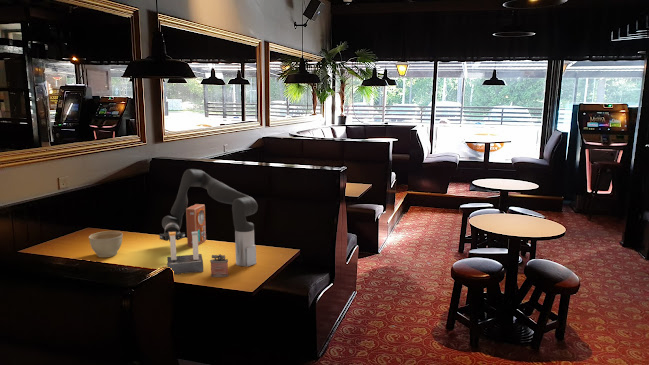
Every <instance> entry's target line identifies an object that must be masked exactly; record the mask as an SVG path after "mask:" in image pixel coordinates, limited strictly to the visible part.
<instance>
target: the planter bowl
mask: <svg viewBox="0 0 649 365" xmlns="http://www.w3.org/2000/svg"><path fill="white" fill-rule="evenodd" d="M123 234H124V233H123V232H121V231H116V230H115V231H114V230H109V231H108V230H107V231H100V232H96V233H95V232H94V233H91V234H90V235H89V236H88V240H89V244H90V247H91V249H92V250H93V252H94V253H95V254H96V256H97V257H99V258H110V257H111V258H112V257H115V256H116V255H117V254H118V252H119V250H120V248H121V246H122V244H123V243H122V242H123V236H124V235H123Z"/></svg>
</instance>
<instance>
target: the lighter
mask: <svg viewBox="0 0 649 365" xmlns="http://www.w3.org/2000/svg"><path fill="white" fill-rule="evenodd" d="M209 262H210V277H211V278H227V277H229V276H230V275H229V267H228V266H229V264H228V262H229V260H228V258H226V255H225V254H224V255H223V254H218V255H217V254H212V255H211V259H210V260H209Z"/></svg>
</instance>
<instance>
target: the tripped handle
mask: <svg viewBox="0 0 649 365" xmlns="http://www.w3.org/2000/svg"><path fill="white" fill-rule="evenodd" d="M175 235H176V232H169V236H170V242H169V244H170V257H171V260H177V258H176V256H177V239H175Z"/></svg>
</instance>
